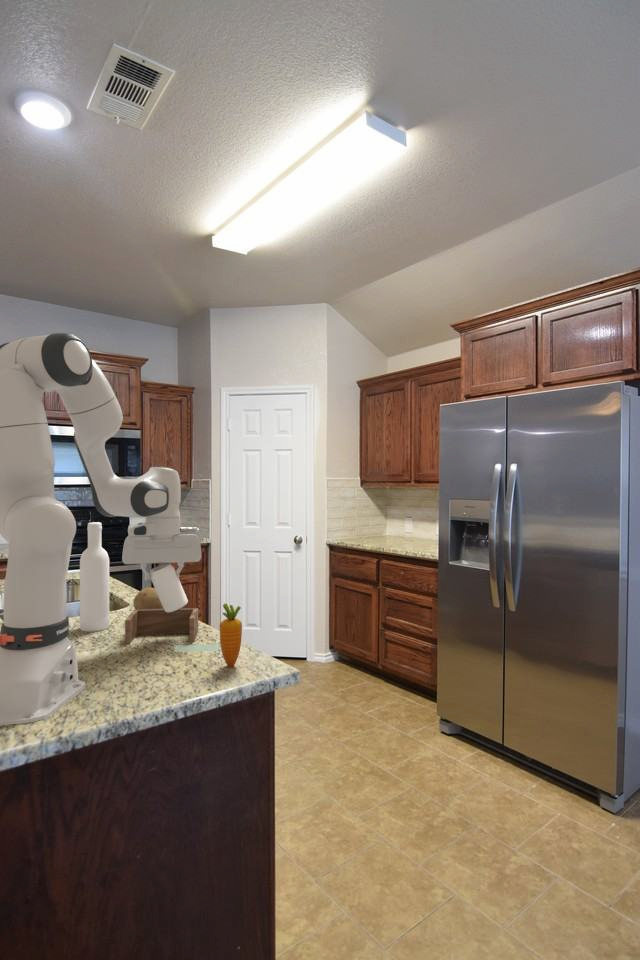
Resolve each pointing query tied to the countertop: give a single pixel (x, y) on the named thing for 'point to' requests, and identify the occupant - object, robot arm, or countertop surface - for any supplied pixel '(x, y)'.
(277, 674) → the countertop surface
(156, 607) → the natural sponge
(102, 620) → the bottle
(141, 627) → the brown wooden u-shaped frame
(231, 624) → the carrot
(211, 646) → the mat
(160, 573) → the can
